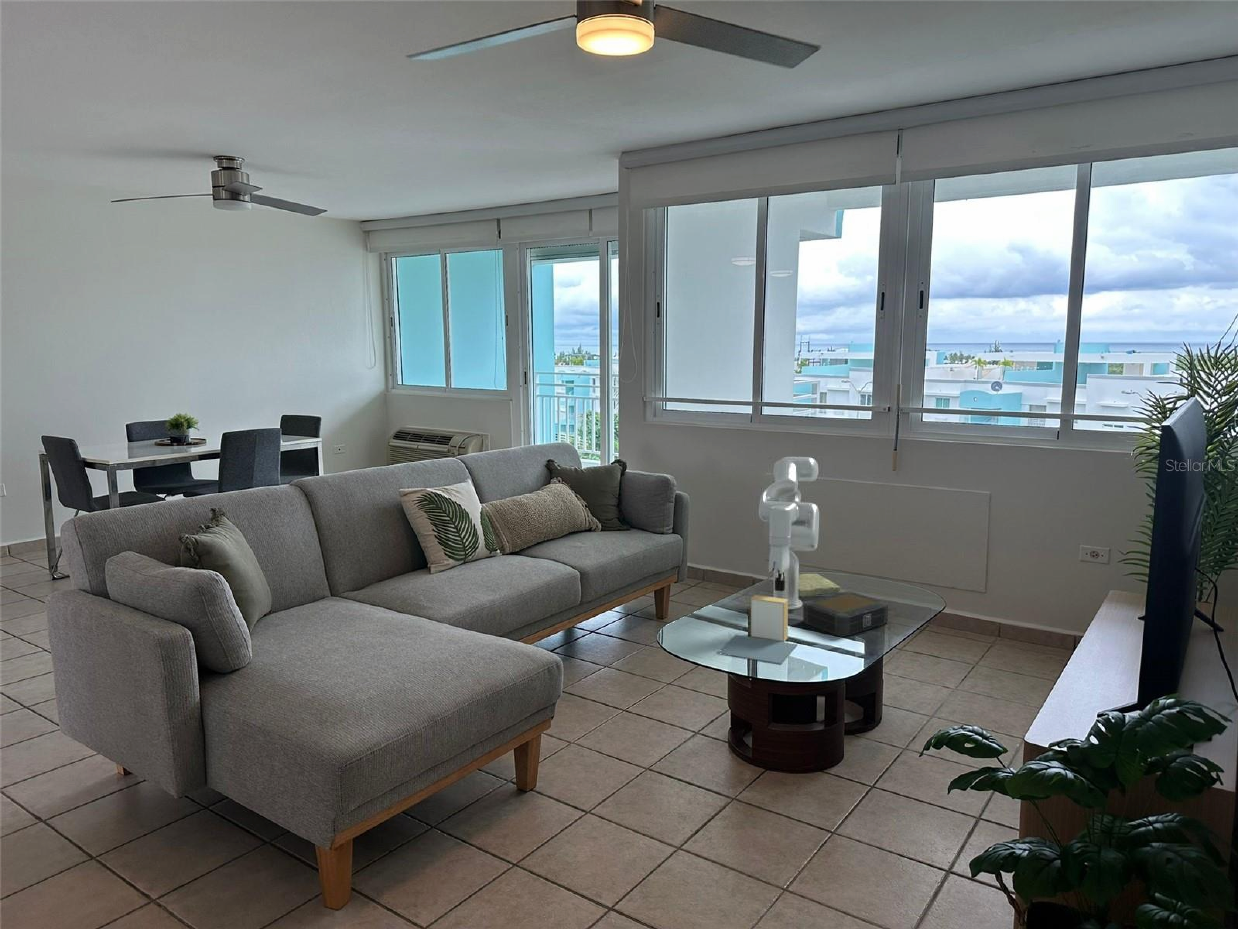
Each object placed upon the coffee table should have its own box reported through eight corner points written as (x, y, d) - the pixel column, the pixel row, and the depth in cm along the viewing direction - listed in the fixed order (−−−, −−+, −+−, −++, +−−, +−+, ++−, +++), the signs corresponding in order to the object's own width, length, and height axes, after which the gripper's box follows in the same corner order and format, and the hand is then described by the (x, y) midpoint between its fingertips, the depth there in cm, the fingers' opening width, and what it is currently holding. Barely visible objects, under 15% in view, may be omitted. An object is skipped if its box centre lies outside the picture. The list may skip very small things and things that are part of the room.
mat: (735, 635, 292) (735, 634, 292) (797, 645, 282) (797, 644, 282) (716, 653, 277) (716, 652, 277) (781, 664, 267) (781, 663, 266)
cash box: (843, 639, 288) (844, 617, 287) (801, 622, 305) (801, 602, 304) (891, 624, 301) (892, 603, 300) (848, 609, 318) (848, 589, 317)
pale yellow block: (754, 632, 295) (754, 595, 293) (787, 638, 289) (787, 599, 287) (750, 637, 291) (750, 598, 289) (783, 642, 286) (784, 603, 283)
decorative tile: (816, 579, 357) (817, 571, 356) (840, 593, 338) (841, 585, 337) (777, 584, 352) (777, 575, 352) (799, 598, 333) (799, 589, 332)
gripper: (776, 535, 304) (776, 583, 307) (763, 544, 291) (763, 594, 294) (796, 537, 300) (795, 586, 303) (784, 546, 287) (783, 597, 290)
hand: (779, 590), depth 298 cm, fingers closed
